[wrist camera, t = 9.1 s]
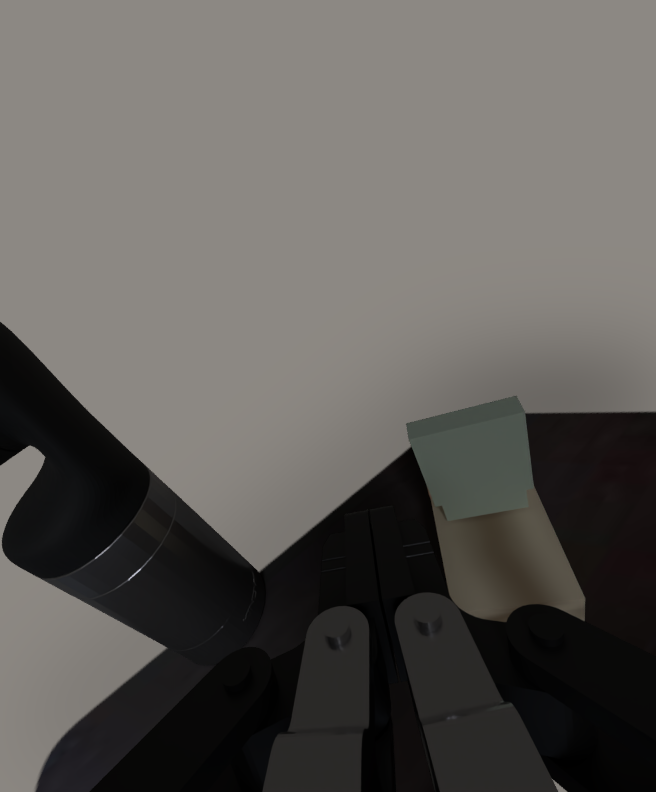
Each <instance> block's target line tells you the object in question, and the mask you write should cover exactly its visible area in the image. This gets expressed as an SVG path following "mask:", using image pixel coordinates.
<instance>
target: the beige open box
mask: <svg viewBox="0 0 656 792" xmlns="http://www.w3.org/2000/svg"><path fill="white" fill-rule="evenodd" d="M533 486H534V485H533ZM526 491H527V499H528V506H529V507H526V508H520V509H514V510H508V511H503V512H497V513H491V514H486V515H480V516H474V517H468V518H463V519H457V520H451V521H447V518H446V515H445V513H444V510H443V507H442V506H437V507H435V505H434V502H433V500H432V499H431V503H432V508H433V513H434V518H435V524H436V529H437V534H438V539H439V544H440V549H441V555H442V560H443V565H444V570H445V575H446V580H447V585H448V591H449V595H450V597H451V599H452V600H453V602H454V603H455V604H456V605H457V606H458V607H459V608H460V609H462V610H463V611H465V612H466V613H468V614H470V615H472V616H475V617H478V618H481V619H486V620H493V621H501V622H507V619H508V617H509V615H510V614H511V613H512V612H513V611H514V610H515V609H517V608H519V607H521V606H524V605H529V604H543V605H548V606H552V607H556V608H558V609H561V610H563V611H565V612H567V613H569V614H571V615H573V616H575V617H577V618H579V619H581V620H583V621H585V597H584V595H583V593H582V591H581V588H580V586H579V584H578V582H577V580H576V577H575V575H574V573H573V571H572V569H571V566H570V564H569V562H568V560H567V558H566V555H565V553H564V551H563V549H562V547H561V544H560V542H559V540H558V538H557V536H556V534H555V531H554V529H553V527H552V525H551V523H550V520H549V518H548V516H547V514H546V512H545V509H544V507H543V505H542V503H541V501H540V498H539V496H538V494H537V492H536V490H535V487H534V489H528V490H526Z"/></svg>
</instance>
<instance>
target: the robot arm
mask: <svg viewBox="0 0 656 792" xmlns="http://www.w3.org/2000/svg"><path fill="white" fill-rule="evenodd" d="M30 445H31V446H33V447H35V448H37V449H38V450H39V451H40V452H41V453H42V454H43V455H44V456H45V460H44V463H43V466H42V468H41V470H40V472H39V473H38V475H37V477H36V478H35V480H34V481H33V483H32V484H31V486H30V487H29V488H28V490H27V491H26V492H25V494H24V495H23V497H22V498H21V499H20V501H19V502H18V504H17V505H16V507H15V509H14V510H13V512H12V514H11V516H10V517H9V519H8V522H7V524H6V527H5V530H4V533H3V538H2V548H3V552H4V554H5V555H6V557H7V558H8V559H9V560H10V561H11V562H13V563H14V564H15V565H17V566H18V567H20V568H22V569H24V570H26V571H27V572H29V573H31V574H33V575H35V576H37V577H39V578H41V579H42V580H44V581H46V582H48V583H50V584H52V585H54V586H55V587H57V588H59V589H61V590H63V591H64V592H66V593H68V594H70V595H72V596H74V597H76V598H78V599H80V600H81V601H84V602H85V603H87V604H89V605H91V606H92V607H94V608H96V609H98V610H100V611H102V612H103V613H105V614H107V615H109V616H111V617H113V618H114V619H117V620H118V621H120V622H122V623H124V624H125V625H127V626H129V627H131V628H133V629H135V630H136V631H139V632H140V633H142V634H144V635H146V636H147V637H149V638H151V639H153V640H155V641H157V642H158V643H160V644H162V645H164V646H165V647H167V648H169V649H171V650H172V651H174V652H176V653H178V654H180V655H182V656H183V657H185V658H187V659H189V660H191V661H193V662H194V663H196V664H200V665H204V666H205V665H215V664H217V665H216V666H215V667H214V668H213V669H212V670H211V671H210V672H209V673H208V674H207V675H206V676H205V677H204V678H203V679H202V680H201V681H200V682H199V683H198V684H197V685H196V686H195V687H194V688H193V689H192V690H191V691H190V692H189V693H188V694H187V695H186V696H185V697H184V698H183V699H182V700H181V701H180V702H179V703H178V704H177V705H176V706H175V707H174V708H173V709H172V710H171V711H170V712H169V713H168V714H167V715H166V716H165V717H164V718H163V719H162V720H161V721H160V722H159V723H158V724H157V725H156V726H155V727H154V728H153V729H152V730H151V731H150V732H149V733H148V734H147V735H146V736H145V737H144V738H143V739H142V740H141V741H140V742H139V743H138V744H137V745H136V746H135V747H134V748H133V749H132V750H131V751H130V752H129V753H128V754H127V755H126V756H125V757H124V758H123V759H122V760H121V761H120V762H119V763H118V764H117V765H116V766H115V767H114V768H113V769H112V770H111V771H110V772H109V773H108V774H107V775H106V776H105V777H104V778H103V779H102V780H101V781H100V782H99V783H98V784H97V785H96V786H95V787H94V788H93V789H92V790H91V791H90V792H396V779H395V761H394V742H393V724H392V718H391V714H390V713H391V701H390V693H389V685H388V684H391V683H398V678H397V672H396V665H395V658H396V662H397V667H398V671H399V675H400V680H401V682H404V681H408V684H409V689H410V693H411V698H412V702H413V707H414V711H415V716H416V720H417V724H418V728H419V732H420V736H421V740H422V744H423V748H424V752H425V756H426V760H427V764H428V768H429V772H430V776H431V780H432V784H433V788H434V792H558V790H557V789H556V786H555V784H554V782H553V780H555V782H557V783H558V784H559V785H560V786H561V787H563V788H564V789H565V790H566V791H567V792H656V656H654V655H652V654H650V653H648V652H646V651H644V650H642V649H640V648H638V647H636V646H634V645H632V644H630V643H628V642H625V641H623V640H621V639H619V638H617V637H615V636H613V635H611V634H609V633H607V632H605V631H603V630H601V629H599V628H597V627H595V626H593V625H591V624H589V623H587V622H585V621H583V620H581V619H579V618H577V617H575V616H573V615H571V614H569V613H567V612H565V611H563V610H561V609H558V608H556V607H552V606H548V605H543V604H529V605H524V606H521V607H519V608H517V609H515V610H514V611H513V612H512V613H511V614H510V615H509V617H508V619H507V622H501V621H493V620H486V619H481V618H478V617H475V616H472V615H470V614H468V613H466V612H465V611H463V610H462V609H460V608H459V607H458V606H457V605H456V604H455V603H454V602H453V600H452V599H451V597H450V595H449V592H448V589H447V587H446V584H445V581H444V578H443V576H442V573H441V570H440V567H439V565H438V562H437V559H436V557H435V554H434V551H433V548H432V546H431V543H430V540H429V537H428V535H427V532H426V529H425V528H424V527H423V526H422V525H421V524H420V523H418V522H417V521H416V520H415V519H411V520H406V521H400V522H397V519H396V515H395V511H394V507H393V505H392V506H386V507H381V508H375V509H370V516H371V521H370V516H369V512H368V510H365V511H359V512H354V513H349V514H345V515H344V520H345V532H340V533H334V534H330V536H329V537H328V539H327V541H326V542H325V544H324V545H323V552H322V566H321V572H322V573H321V581H320V596H319V611H318V616H317V617H316V618H315V619H314V620H313V622H312V623H311V625H310V626H309V628H308V631H307V635H306V640H305V641H304V642H303V643H301V644H300V645H299V646H297V647H296V648H294V649H292V650H290V651H288V652H286V653H284V654H282V655H280V656H278V657H276V658H273V659H271V660H270V657H269V656H268V654H267V653H266V652H265V651H263V650H262V649H259V648H256V647H247V648H242V647H243V646H244V645H245V643H246V642H247V641H248V640H249V638H250V637H251V635H252V634H253V632H254V630H255V629H256V627H257V625H258V622H259V620H260V618H261V615H262V611H263V607H264V602H265V588H264V583H263V580H262V577H261V575H260V574H259V572H258V571H257V570H256V569H255V568H254V567H253V566H252V565H251V564H250V563H249V562H248V561H247V560H246V559H244V558H243V557H242V556H241V555H240V554H239V553H238V552H237V551H236V550H235V549H234V548H233V547H232V546H231V545H230V544H229V543H228V542H227V541H226V540H224V539H223V538H222V537H221V536H220V535H219V534H218V533H217V532H216V531H215V530H214V529H213V528H212V527H211V526H209V525H208V524H207V523H206V522H205V521H204V520H203V519H202V518H201V517H200V516H199V515H198V514H197V513H196V512H195V511H194V510H193V509H191V508H190V507H189V506H188V505H187V504H186V503H185V502H184V501H183V500H182V499H181V498H180V497H179V496H177V494H175V493H174V492H173V491H172V490H171V489H170V488H168V486H167V485H166V484H165V483H163V482H162V481H161V480H160V479H159V478H158V477H157V476H156V475H155V474H154V473H153V472H152V471H151V470H149V468H147V467H146V466H145V465H144V464H143V463H142V462H141V461H140V460H139V459H138V458H137V457H135V456H134V455H133V454H132V453H131V452H130V451H129V450H128V449H127V448H126V447H125V446H124V445H123V444H122V443H121V442H120V441H119V440H118V439H116V438H115V437H114V436H113V435H112V434H111V433H110V432H109V431H108V430H107V429H106V428H105V427H104V426H103V425H102V424H101V423H100V422H99V421H97V419H96V418H95V417H94V416H92V415H91V414H90V413H89V412H88V411H87V410H86V409H85V408H84V407H83V406H82V405H81V404H80V402H79V401H78V400H77V399H76V398H75V397H74V396H73V395H72V394H71V393H70V392H69V391H68V390H67V389H66V388H65V387H64V386H63V385H62V384H61V382H60V381H59V380H58V379H57V378H56V377H55V376H54V375H53V374H52V373H51V372H50V371H49V370H48V369H47V367H46V366H45V365H44V364H43V363H42V362H41V361H40V360H39V359H38V358H37V357H36V356H35V355H34V354H33V352H32V351H31V350H29V348H28V347H27V346H26V345H25V344H24V343H23V342H22V341H21V340H19V339H18V337H17V336H15V334H14V333H12V331H10V330H9V329H8V328H7V327H6V326H5V325H3V324H2V323H1V322H0V465H2V464H3V463H5V462H6V461H7V460H9V459H10V458H12V457H13V456H15V455H16V454H17V453H19V452H20V451H22V450H23V449H25V448H26V447H28V446H30ZM371 523H372V525H371ZM241 648H242V649H241ZM393 649H394V652H393ZM394 653H395V658H394ZM552 779H553V780H552Z"/></svg>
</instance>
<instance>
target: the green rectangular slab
mask: <svg viewBox="0 0 656 792" xmlns="http://www.w3.org/2000/svg"><path fill="white" fill-rule="evenodd" d="M406 425H407V431H408V437H409V441H410V444H411V446H412V449H413V451H414V454H415V457H416V459H417V462H418V464H419V467H420V469H421V472H422V474H423V477H424V479H425V482H426V485H427V487H428V490H429V492H430V495H431V497H432V500H433V502H434V505H435V507H437V506H442V507H443V510H444V513H445V515H446V518H447V521H451V520H457V519H463V518H468V517H474V516H480V515H486V514H491V513H497V512H503V511H508V510H514V509H520V508H526V507H529V506H528V499H527V491H526V490H528V489H534V486H533V477H532V469H531V460H530V452H529V443H528V435H527V426H526V418H525V411H524V409H523V408H522V406H521V404H520V402H519V400H518V398H517V396H513V397H509V398H505V399H502V400H498V401H494V402H490V403H486V404H482V405H478V406H474V407H470V408H466V409H462V410H458V411H454V412H450V413H446V414H442V415H438V416H435V417H430V418H426V419H422V420H418V421H414V422H410V423H407V424H406Z"/></svg>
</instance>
